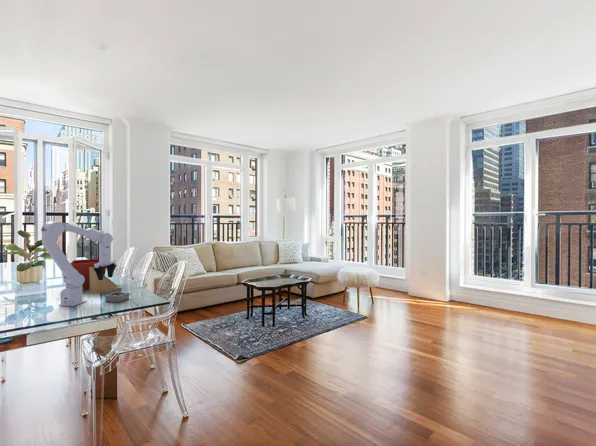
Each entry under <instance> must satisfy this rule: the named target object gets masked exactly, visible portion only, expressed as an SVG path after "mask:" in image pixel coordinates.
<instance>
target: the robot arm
mask: <svg viewBox="0 0 596 446" xmlns="http://www.w3.org/2000/svg"><path fill="white" fill-rule="evenodd" d="M40 232H41V243H42V246H43V248H44V249H45V250H46V251H47V253H48V254H49V256H50V257H51V259H52V260H53V261H54V263H55V265H56V266H57V267H58V268H59V270H60V272H61V276H62V278H63V282H64V283H65V288H64V289H62V290H61V291H60V295H59V296H60V298H59V299H60V304H58V306H60V307H75V306H78V305H80V304H83V303H86V302H87V300H86V299H83V297H84V295H83V294H84V293H83V290H84V289H82V284H83V283H84V281H85V279H84V276H83V275H81V274H79V273H78V271H77V270H75V269H74V268H73V267H72V265H71V264H70V263H71V261H69V259H68V257H66V255H65V254H64V251H63V250H62V249H61V248H60V245H59V243H57V241H58V239H59V237H60V236H61V235H62V234H63V233H68V232H70V233H75V234H78V235H82V236H84V239H87V240H91V241H95V242H98V257H99V258H98V259H99V263H97V264H94V268H93V269H94V270H95V272H96V274H97V277H98V280H103V273H104V270H105V268H102V266H106V272H107V278H113V275H114V271H115V270H116V268H117V264H116V263H117V262H116V260H112V242H113V240H114V238H113V236H112V234H111V233H108V232H104V230H97V229H96V228H95V227H91V228H90V227H88V228H87V229H85V228H83V227H80V226H76V225H74V224H71V223H67V222H61V221H46V222H45V223H44V224H43V225H42V227H41V229H40ZM105 264H106V265H105Z"/></svg>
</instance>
